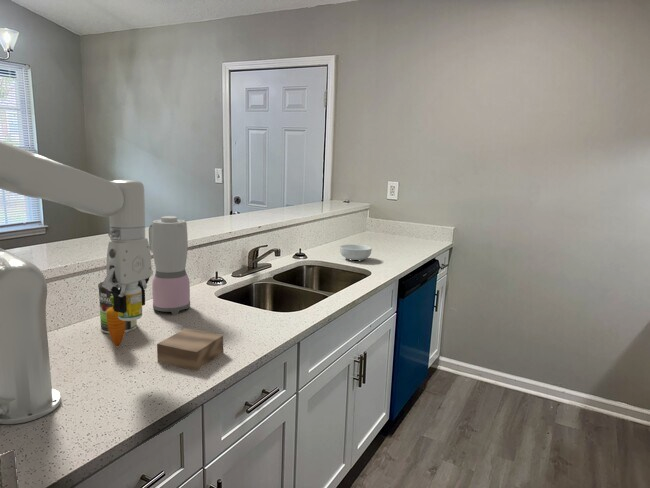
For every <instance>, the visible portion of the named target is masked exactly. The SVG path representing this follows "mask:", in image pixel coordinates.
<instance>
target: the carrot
mask: <svg viewBox="0 0 650 488" xmlns="http://www.w3.org/2000/svg"><path fill="white" fill-rule="evenodd" d="M110 300H111V303H112V306H113V307H111V308H109V309H107V311H106V314H107V324H108V330H109V337H110V339H111V341H112V343H113V344H114V346H115V347H116V348H119V347H120V346H121V344H122V342H123V339H124V336H125V333H124V332H125V321H123V320H120V319H119V318H118V312H115V311H114V298H113V296H111V297H110Z"/></svg>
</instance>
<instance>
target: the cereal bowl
mask: <svg viewBox="0 0 650 488" xmlns="http://www.w3.org/2000/svg"><path fill="white" fill-rule="evenodd" d="M372 249H373V248H372V247H370V246H369V245H365V244H354V243H353V244H349V243H348V244H342V245H340V246H339V253H340V255H341V256H342V257H343V258H345V259H347V260H348V259H351V260H362V261H364V260H366V259H368V258H369V257H370V256H371V254H372Z"/></svg>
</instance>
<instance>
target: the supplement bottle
mask: <svg viewBox="0 0 650 488" xmlns="http://www.w3.org/2000/svg"><path fill="white" fill-rule="evenodd" d="M137 285H138V282H135V283H131V284H128V285H126V287H125V292H124V296H126V308H127V311H126V312H125V313H120V312H118V318H119V319H120V320H123V321H132V320H137V321H138V320H139V319H141V318H142V316H143V306H142V290H141V288H140V287H139V286H137ZM119 289H120V288H119Z"/></svg>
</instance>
